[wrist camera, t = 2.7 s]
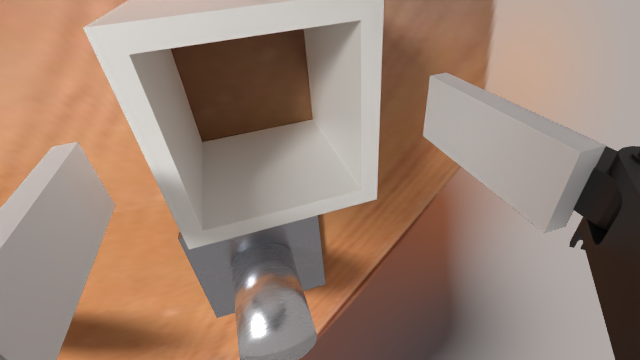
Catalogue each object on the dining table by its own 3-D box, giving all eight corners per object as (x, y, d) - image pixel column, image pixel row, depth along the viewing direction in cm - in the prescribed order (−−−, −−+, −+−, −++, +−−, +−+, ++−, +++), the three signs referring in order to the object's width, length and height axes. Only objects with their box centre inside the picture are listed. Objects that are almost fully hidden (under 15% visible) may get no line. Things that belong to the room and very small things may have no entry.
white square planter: (133, -4, 15) (83, 28, 8) (313, -25, 16) (384, -12, 10) (192, 156, 20) (189, 249, 13) (325, 127, 21) (376, 199, 15)
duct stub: (178, 233, 23) (170, 332, 17) (314, 198, 24) (350, 276, 18) (216, 312, 28) (220, 405, 23) (323, 279, 30) (353, 357, 24)
